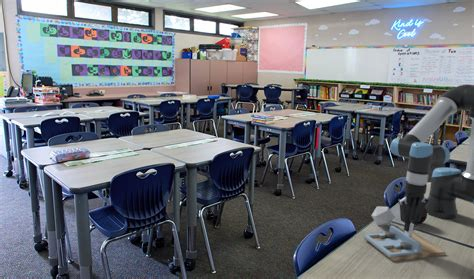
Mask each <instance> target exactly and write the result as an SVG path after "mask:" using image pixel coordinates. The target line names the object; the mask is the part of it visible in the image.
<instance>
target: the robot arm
mask: <svg viewBox="0 0 474 279" xmlns="http://www.w3.org/2000/svg"><path fill="white" fill-rule="evenodd" d="M458 111H459V112H460V111H465V112H468V118H470V120H471V129H470V136H469V143H468V144H469V146H468V154H467V162H466V169H465V170H464V171H463V172H462V170H461V169H458V168H455V167H436V168H435V169H434V170H433V171H432V175H431V181H430V185H429V186H430V188H429V195H428V197H427V198H426V197H425V194H426V192H427V189H428V188H427V187H428V185H427V184H428V182H429V175H430V169H431V167H432V166H440V165H441V166H442V165H443V164H446V163H448V162H449V160H450V157H451V152H450V150H449V149H448V147H446V146H445V145H440V144H439V145H438V144H437V145H432V144H431V143H428V142H426V141H427V140H428V139H429V138H430V137H432V135H433V134H434V133H435V132H436V131H437V130H438V129H439V127H440V126H442V124H443V123H444V122H446V120H447V119H448V118H449V117H450V116H452V115H455V114H456V113H457V112H458ZM389 148H390V152H391V153H392V154H393V155H394V156H398V157H401V158H405V159H408V163H407V164H408V165H407V171H406V177H405V179H406V181H405V183H404V184H405V185H404V192H405V193H404V195H403V198H401V199H400V198H398V200H397V202H398V205H399V212H400V213H399V215H400V221H401V222H403V223H404V227H403V232H404V231H405V232H404V233H405V234H407V235H408V236H410V237H412V234H413V232H414V230H415V226H417V225H419V224H418V223H416V222H420V220H421V217H422V214H423V212H424V209H425V208H426V210H427V215H430V216H433V217H436V218H439V219H440V218H441V219H445V220H447V219H448V220H449V219H452V220H453V219H456V218H457V217H458V210H457V203H456V202H457V201H456V200H457V199H460V200H462V201H465V202H467V203H471V204H473V205H474V84H460V85H457V86H454V87H452V88H450V89H449V90H447V91H445V92H444V93H443V94H441V95H440V96H439V97H438V98H437V99H436V100H435V104H434V106H433V107H431V109H430V110H429V111H428V112H427V113H426V114H425V115H424V116H423V117H422V118H420V120H419V121H418V122H417V123H416V124H415V125H414V126H413V128H412V129H411V130H409V132H407V134H405V136H404V137H402V138H401V137H396V138H394V139H392V140H391V143H390V146H389ZM417 217H418V218H417Z"/></svg>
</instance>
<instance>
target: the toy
mask: <svg viewBox="0 0 474 279" xmlns="http://www.w3.org/2000/svg"><path fill="white" fill-rule="evenodd" d="M417 218H418V217H417ZM427 218H428V213H427V210H426V208H425V209H424V212H423V214H422V217H421V220H420V222H416V223H418V224H417V225H420V224H423V223H425V221H426V219H427Z"/></svg>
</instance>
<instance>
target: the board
mask: <svg viewBox="0 0 474 279" xmlns="http://www.w3.org/2000/svg"><path fill="white" fill-rule="evenodd" d="M403 232H405V230H403ZM384 233H385V236H387V237H385V238H380V237H371V238H372V239H374V240H375V241H384V240H385V239H387V238H395V236H396V234H395V233H393V232H389V231H385V232H384ZM412 238H413V239H415V240H416V241H418V242H419V243H421V244H422V246H421V252H420V253H418V254H410V255H403V256H395V257H389V256H387V255H386V254H385V253H384V252H382V251H381V250H380V249H378V248H377V247H376V246H374V245H373V244H372V243H371V242H369V241H368V240H367V239H365V238H364V237H363V239H364V240H365V241H366V242H368V243H369V244H370V245H372V246H373V247H374V248H375V249H377V250H378V251H379V252H381V253H382V254H383V255H385V256H386V257H388V258H389V259H390V260H391V261H392V262H398V261H406V260H407V261H408V260H414V259H421V258H428V257H436V256H444V255H446V251H445V250H443V249H442V248H440V247H438V245H435V244H434V243H432V242H430V241H429V240H428V239H425V238H424V237H422V236H421V235H419V234H418V233H416V232H414V231H413V234H412ZM400 246H401V247H403V248H399V249H395V248H393V247H392V248H386V249H387V250H388V251H390V252H391V253H395V252H400V250H404V249H411V247H412V245H411V244H410V243H407V242H401V243H400Z"/></svg>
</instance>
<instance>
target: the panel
mask: <svg viewBox="0 0 474 279" xmlns="http://www.w3.org/2000/svg"><path fill="white" fill-rule="evenodd" d="M389 232H393V233H395V234H396V236H395V238H387V239H385V240H384V241H375V240H374V239H372V238H371V237H380V238H385V237H387V236H385V232H377V233H367V234H363V239H364V238H365V239H367V240H368V241H369V242H371V243H372V244H373V245H374V246H376V247H377V248H378V249H380V250H381V251H382V252H384V253H385V254H386V255H387V256H389V257H395V256H403V255H410V254H418V253H420V252H421V246H422V244H421V243H419V242H418V241H416V240H415V239H413V238H412V237H410V236H408V235H407V234H405V233H404V231H402V230H401V229H400V228H397V227H396V226H394V225H389ZM365 239H364V240H365ZM367 240H366V241H367ZM368 241H367V242H368ZM369 242H368V243H369ZM401 242H407V243H410V244H411V245H412V247H411V249H404V250H400V252H395V253H391V252H390V251H388V250H387V249H386V248H392V247H393V248H395V249H399V248H403V247H401V246H400V243H401ZM372 244H371V245H372ZM373 245H372V246H373ZM374 246H373V247H374ZM376 247H375V248H376ZM377 248H376V249H377ZM378 249H377V250H378ZM381 251H380V252H381ZM382 252H381V253H382ZM385 254H384V255H385ZM386 255H385V256H386ZM387 256H386V257H387Z"/></svg>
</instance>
